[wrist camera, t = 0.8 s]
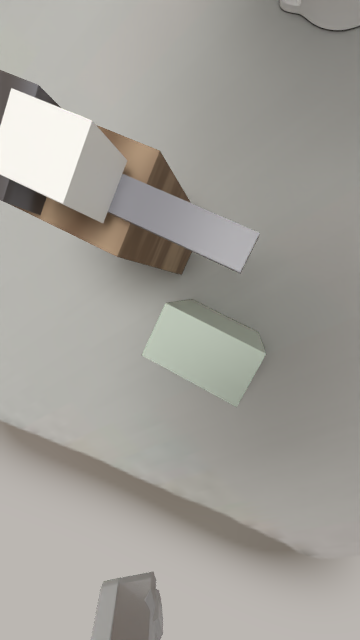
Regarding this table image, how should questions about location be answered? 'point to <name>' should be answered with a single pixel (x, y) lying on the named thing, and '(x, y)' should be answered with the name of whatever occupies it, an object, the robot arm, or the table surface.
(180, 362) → the block
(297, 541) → the table surface
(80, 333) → the table surface
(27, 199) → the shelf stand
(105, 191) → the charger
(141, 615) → the robot arm
